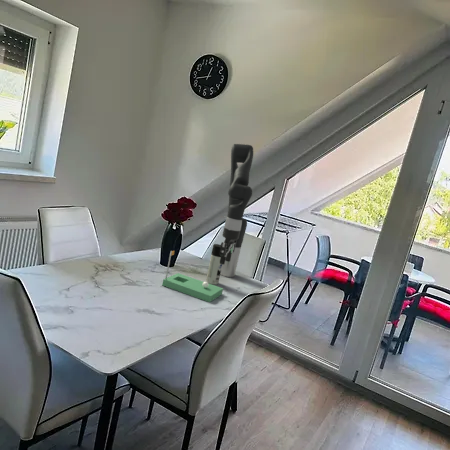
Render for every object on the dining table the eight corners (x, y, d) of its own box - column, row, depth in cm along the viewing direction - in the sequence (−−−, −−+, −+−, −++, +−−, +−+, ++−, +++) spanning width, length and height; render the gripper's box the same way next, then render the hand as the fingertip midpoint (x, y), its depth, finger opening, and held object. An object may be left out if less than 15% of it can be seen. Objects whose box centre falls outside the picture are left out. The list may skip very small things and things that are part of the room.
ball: (203, 286, 203) (204, 280, 202) (208, 288, 202) (210, 282, 201) (200, 287, 200) (202, 281, 200) (206, 289, 199) (207, 283, 199)
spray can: (216, 285, 217) (224, 248, 213) (204, 282, 218) (211, 245, 214) (219, 282, 223) (227, 246, 220) (207, 279, 224) (215, 242, 221)
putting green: (177, 278, 215) (183, 246, 212) (221, 294, 206) (229, 261, 203) (162, 285, 201) (168, 251, 198) (209, 302, 192) (217, 266, 189)
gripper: (230, 224, 201) (223, 257, 204) (219, 227, 188) (211, 262, 191) (245, 228, 198) (237, 262, 201) (234, 231, 185) (226, 267, 188)
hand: (224, 262), depth 196 cm, fingers open, 6 cm apart
